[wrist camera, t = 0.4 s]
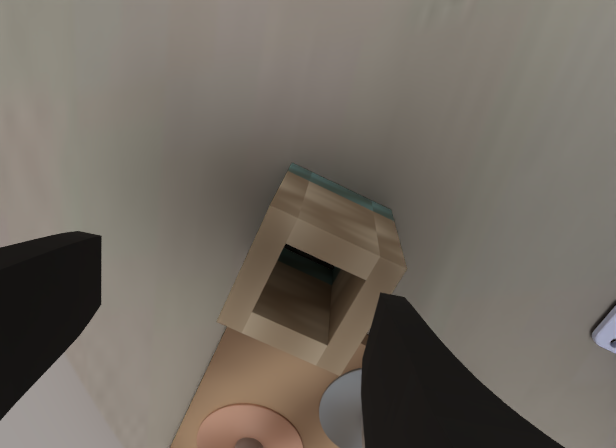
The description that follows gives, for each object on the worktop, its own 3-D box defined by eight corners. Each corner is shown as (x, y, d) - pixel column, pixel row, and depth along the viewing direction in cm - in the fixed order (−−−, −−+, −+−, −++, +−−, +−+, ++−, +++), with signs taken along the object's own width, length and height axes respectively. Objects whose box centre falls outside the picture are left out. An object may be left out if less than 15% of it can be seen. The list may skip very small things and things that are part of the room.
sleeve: (391, 209, 20) (407, 268, 15) (342, 294, 22) (340, 376, 17) (291, 162, 20) (269, 205, 14) (250, 252, 22) (216, 321, 16)
